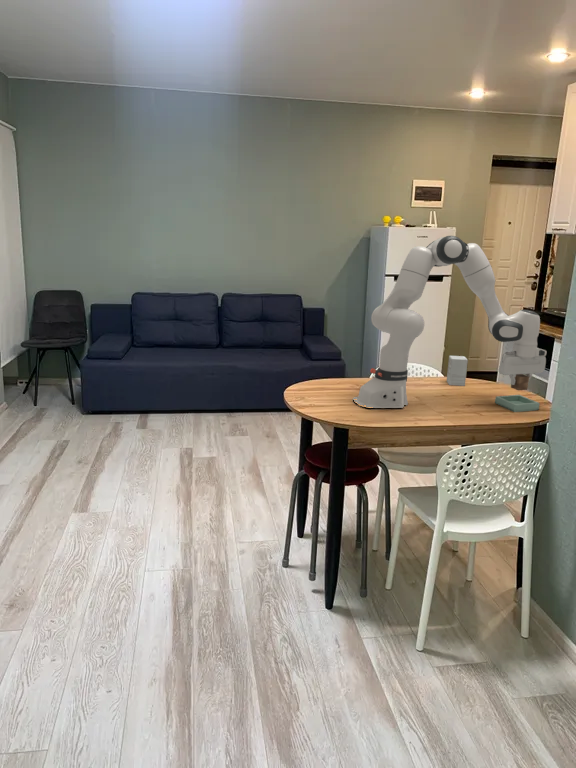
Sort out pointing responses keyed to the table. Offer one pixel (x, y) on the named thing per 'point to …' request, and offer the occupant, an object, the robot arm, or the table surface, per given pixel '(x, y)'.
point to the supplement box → (457, 370)
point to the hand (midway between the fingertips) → (519, 384)
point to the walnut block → (521, 382)
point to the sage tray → (517, 403)
